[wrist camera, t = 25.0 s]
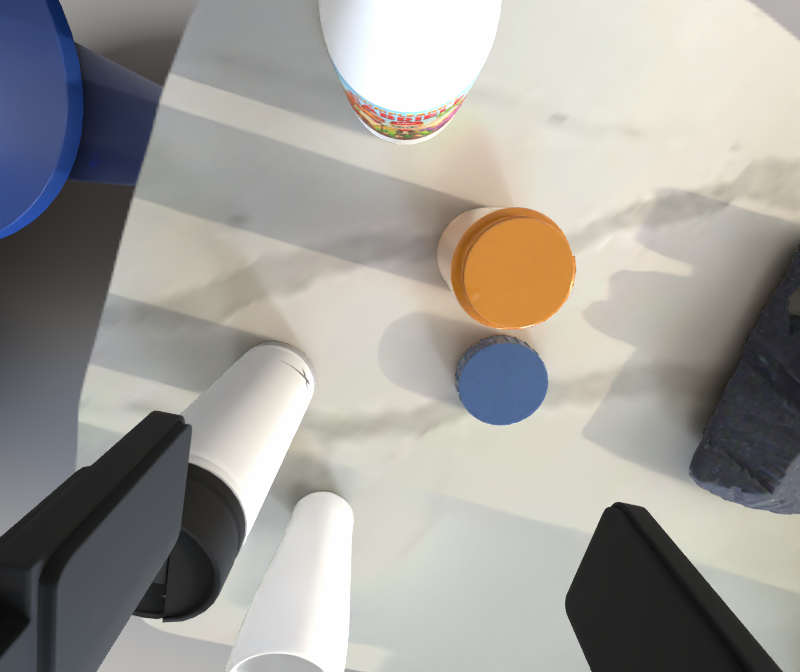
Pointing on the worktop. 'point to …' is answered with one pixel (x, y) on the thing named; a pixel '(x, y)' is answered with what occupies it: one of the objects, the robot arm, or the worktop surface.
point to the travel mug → (229, 473)
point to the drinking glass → (302, 595)
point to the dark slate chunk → (759, 415)
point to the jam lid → (501, 380)
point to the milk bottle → (408, 59)
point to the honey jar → (506, 265)
